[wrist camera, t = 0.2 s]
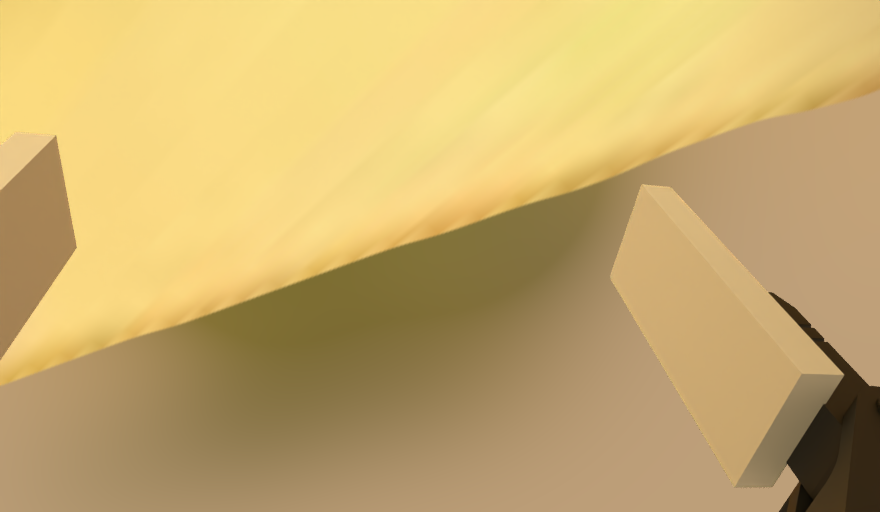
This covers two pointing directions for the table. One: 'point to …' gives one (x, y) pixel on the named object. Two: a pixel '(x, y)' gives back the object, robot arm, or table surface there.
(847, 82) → the table surface
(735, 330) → the robot arm
